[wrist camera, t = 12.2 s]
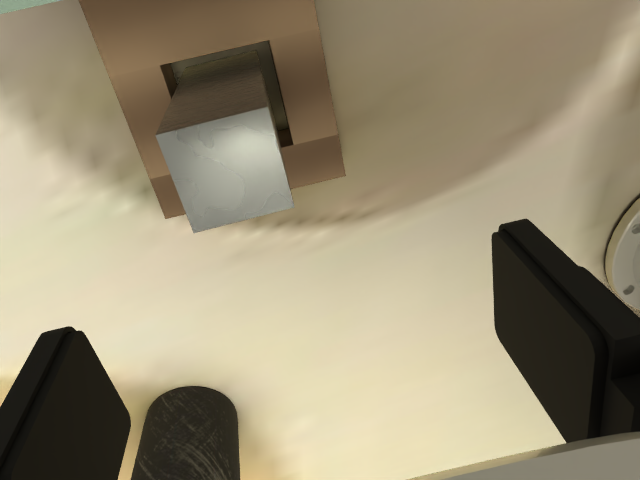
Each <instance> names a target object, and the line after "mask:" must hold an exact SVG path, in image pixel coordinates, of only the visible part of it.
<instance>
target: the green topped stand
mask: <svg viewBox="0 0 640 480" xmlns="http://www.w3.org/2000/svg"><path fill="white" fill-rule="evenodd" d="M56 1H61V0H0V14H3V13H8V12H12V11H17V10H21V9H25V8H30V7H34V6H39V5H43V4H47V3H52V2H56Z"/></svg>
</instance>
